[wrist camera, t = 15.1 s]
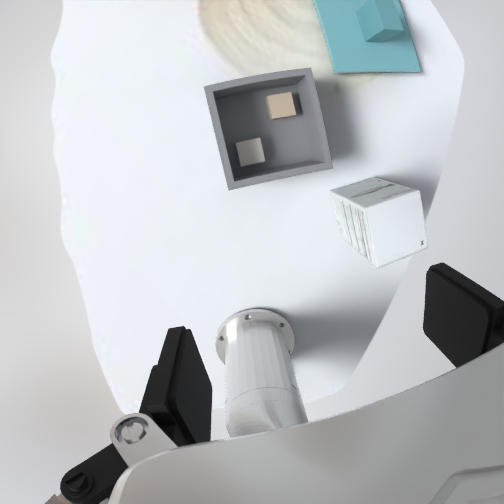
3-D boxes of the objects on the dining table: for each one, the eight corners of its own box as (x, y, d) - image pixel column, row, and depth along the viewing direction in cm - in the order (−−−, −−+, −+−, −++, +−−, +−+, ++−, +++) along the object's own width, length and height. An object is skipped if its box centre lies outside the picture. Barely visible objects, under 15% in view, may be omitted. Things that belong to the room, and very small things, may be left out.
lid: (412, 73, 36) (444, 64, 28) (330, 76, 36) (353, 61, 28) (388, -3, 31) (414, -22, 23) (306, -6, 31) (322, -33, 23)
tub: (316, 164, 40) (332, 168, 33) (228, 183, 40) (228, 190, 33) (297, 80, 36) (310, 67, 29) (208, 97, 36) (203, 86, 29)
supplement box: (373, 175, 41) (422, 188, 29) (383, 223, 43) (429, 250, 31) (327, 189, 41) (365, 206, 29) (339, 238, 43) (376, 271, 32)
